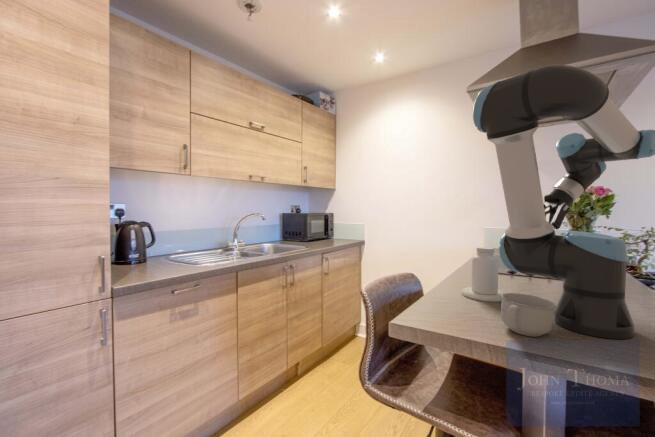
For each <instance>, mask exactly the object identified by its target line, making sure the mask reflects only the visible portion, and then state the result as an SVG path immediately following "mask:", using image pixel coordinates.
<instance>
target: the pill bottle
mask: <svg viewBox="0 0 655 437" xmlns="http://www.w3.org/2000/svg"><path fill="white" fill-rule="evenodd" d="M494 254H495V248H493V247H488V246H486V247H485V246H477V247H476V254H475V255H473V256H472V258H471V287H472V291H473V292H475V293H479V294H485V295H494V294H497V293H498V290H499V258H498V257H497V256H495V255H494Z"/></svg>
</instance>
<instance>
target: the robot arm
mask: <svg viewBox="0 0 655 437" xmlns="http://www.w3.org/2000/svg"><path fill="white" fill-rule="evenodd" d="M559 117H561V119H564V120H566V121H569V122H575V123H576V124H577V125H578V126H579V127H580V128H582V129H583V130H584V131H585V132H586V133H587V135H589V136H590V137H591V138H586V137H585V136H584V134H582V133H578V132H572V133H568V134H566V135H564V136H562V137H561V138H560V139H558V141H557V142H556V144H555V149H556V152H557V156H558V157H559V159H560V160H561V162H562V165H563V167H564V168H565V171H566V174H565V175H564V176H563V177H562V178H561V179H560V180H559V181H558V182H556V183H555V185H554V186H553V187H552V189H550V190H549V191H548V192H547V193H546V194H545V195H544V197H543V193H542V192H543V191H542V187H541V180H540V173H539V166H538V161H537V159H538V158H537V154H536V147H535V142H534V134H535V132H536V131H537V130H538V129H539V128H540V125H539V121H542V120H544V119H549V118H550V119H551V118H559ZM472 118H473V120H472V121H473V124H474V126H475V127H476V129H477V130H478V131H479V132H481V133H484V134H485V133H486V139H487V141H488V142H491V143H492V144H493V145H494V146H495V151H496V157H497V163H498V167H499V168H498V169H499V172H500V178H501V184H502V190H503V195H504V199H505V200H504V201H505V206H506V212H507V216H508V217H507V218H508V222H509V226H508V227H507V228H506V229H505V230H504V233H503V235H502V236H501V238H500V240H499V244H500V246H498V248H499V249H498V251H499V252H498V253H499V257H500V259H501V261H502V263H503V265H504V266H505V267H506V268H507V269H508V270H511V272H512V271H513V272H517V273H519V274H523V275H533V276H538V277H544V278H550V279H556V280H561V281H562V283H563V284H562V285H563V286H562V294H561V296H560V298H559V300H558V303H557V305H556V307H555V309H554V318H553V322H555V323H556V324H557V325H558V326H560V327H563V328H564V329H567V330H570V331H573V332H577V333H579V334H583V335H587V336H592V337H597V338H603V339H613V340H626V339H631V338H633V337H635V329H636V328H635V322H634V320H633V318H632V316H631V313H630V310H629V307H628V305H627V304H626V303H627V302H626V285H627V284H626V283H627V282H626V280H627V261H628V256H627V245H626V243H625V241H624V240H623V239H621V238H619V237H616V236H612V235H608V234H602V233H595V232H589V231H579V230H566V231H565V232H564V234H563V235H557V234H556V231H555V230H559V229H560V228H561V227H562V224H563V222H564V220H565V217H566V215H567V213H568V212H569V211H570V210H571V207H570V206H572V205H573V204H574V202H575V201H577V200H578V199H579V198H580V196H581V195H582V194H583V193H584V192H585V191H586V190H587V189H588V188H589V187H591V185H593V183H595V181H597V180H599V179H600V177H601V175H603V173H604V172H605V171H606V169H607V164H606V162H616V161H628V160H639V159H643V158H652V157H654V155H655V130H654V129H641V130H638V129H637V128H636V127H635V126H634V125H633V124H632V122H631V121H630V120H629V119H628V118H627V117H626V116H625V114H624V113H623V112H622V110H620V109H619V108H618V106H617V105H616V104H615V103H614V102H613V100H612V99H611V97H610V88H609V86H608V85H607V84H606V83H605V81H604V80H603V79H602V78H601V77H599V76H598V75H596V74H595V73H593V72H591V71H588V70H587V69H583V68H580V67H576V66H573V65H566V64H549V65H544V66H540V67H537V68H535V69H532V70H529V71H526V72H523V73H521V74H517V75H514V76H512V77H509V78H506V79H503V80H499V81H496V82H494V83H492V84H490V85H488V86H485V87H484V88H482V89H481V90H480V91H479V92H478V94H477V96H476V98H475V99H474V102H473V107H472Z"/></svg>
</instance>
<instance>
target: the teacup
mask: <svg viewBox="0 0 655 437" xmlns="http://www.w3.org/2000/svg"><path fill="white" fill-rule="evenodd" d="M501 297H502V302H500V303H501V304H500V318H501V320H502V322H503V323H504V325H506V326H507V327H508V328H509V330H511V331H512V332H514V333H516V334H519V335H522V336H526V337H533V338H534V337H536V338H537V337H541V336H543V335H546V334H547V333H549V332H550V331H551V330H552V328H553V324H554V311H555V309H556V306H557V305H556V304H555V303H554V302H552V301H550V300H548V299H546V298H543V297H540V296H536V295H533V294H525V293H518V292H506V293H505V294H502V296H501Z"/></svg>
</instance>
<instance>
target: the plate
mask: <svg viewBox="0 0 655 437" xmlns="http://www.w3.org/2000/svg"><path fill="white" fill-rule="evenodd" d="M505 293H507V292H505V291H504V290H501V289H498V293H497V294H494V295H485V294H479V293H475V292H473V291H472V286H468V287H467V286H465V287H464V288H461V295H462V296H463V297H466V298H468V299H470V300H475V301H480V302H488V303H489V302H491V303H502V297H501V296H502V294H505Z"/></svg>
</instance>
